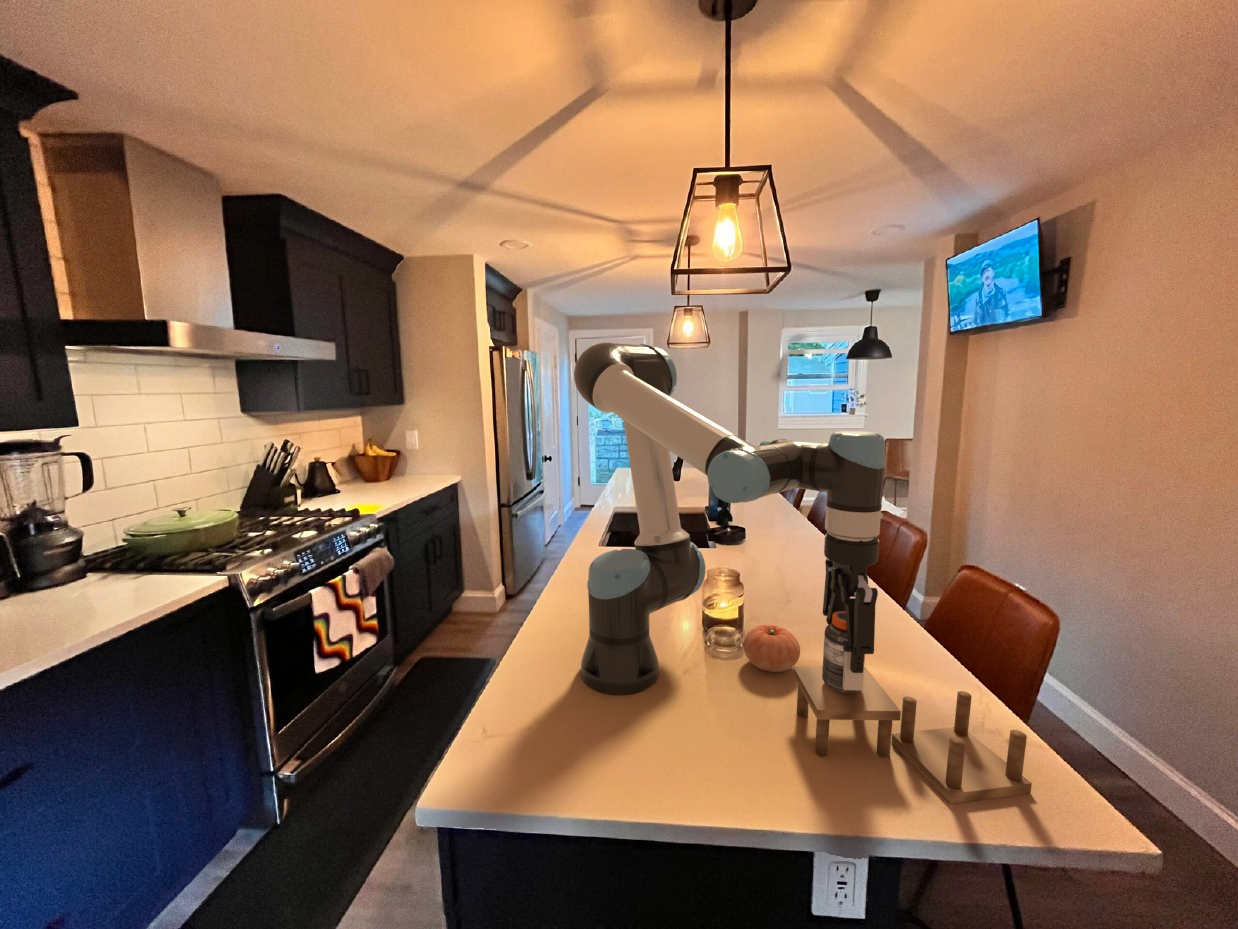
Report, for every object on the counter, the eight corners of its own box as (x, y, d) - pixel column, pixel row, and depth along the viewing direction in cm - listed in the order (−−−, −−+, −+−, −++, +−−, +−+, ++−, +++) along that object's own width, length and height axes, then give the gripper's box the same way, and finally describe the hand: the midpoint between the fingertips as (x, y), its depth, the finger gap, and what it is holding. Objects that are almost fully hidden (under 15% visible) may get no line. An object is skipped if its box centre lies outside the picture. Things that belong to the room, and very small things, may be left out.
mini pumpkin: (731, 664, 103) (732, 627, 102) (763, 646, 110) (764, 611, 109) (779, 688, 95) (780, 647, 94) (810, 667, 102) (811, 629, 100)
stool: (815, 759, 77) (817, 710, 75) (791, 709, 89) (793, 666, 87) (897, 760, 76) (900, 711, 75) (862, 710, 88) (865, 666, 87)
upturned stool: (950, 804, 68) (956, 749, 67) (891, 742, 80) (895, 695, 79) (1030, 793, 70) (1037, 740, 69) (960, 734, 82) (965, 688, 80)
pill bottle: (857, 674, 83) (862, 609, 82) (867, 696, 78) (873, 626, 76) (818, 670, 85) (822, 606, 83) (825, 691, 79) (830, 623, 77)
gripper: (910, 555, 68) (898, 715, 71) (851, 518, 87) (843, 645, 90) (852, 555, 68) (843, 714, 72) (806, 518, 87) (800, 645, 91)
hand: (843, 675), depth 81 cm, fingers open, 6 cm apart
